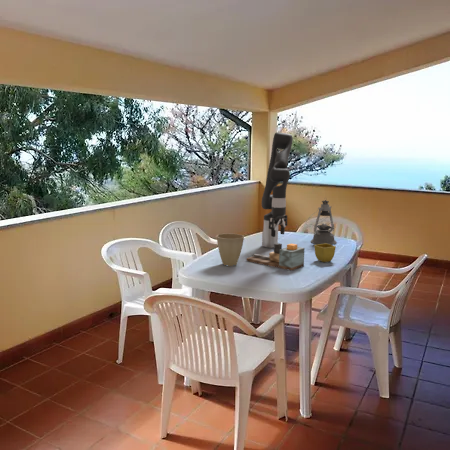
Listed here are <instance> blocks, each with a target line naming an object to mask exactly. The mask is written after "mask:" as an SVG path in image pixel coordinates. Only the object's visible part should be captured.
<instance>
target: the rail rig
mask: <svg viewBox="0 0 450 450" xmlns="http://www.w3.org/2000/svg"><path fill="white" fill-rule="evenodd" d="M246 262H250V263H254V262H255V263H256V264H259V265H263V264H264V266H268V265H269V267H272V268H278V269H282V270H287V271H295V270H298V269H300V268H302V267H304V266H305V247H301V246H297V249H296V250H289V249H287V246H286V247H284V248H283V247H282V249H280V251H279V262H276V261H271V260H270V258H269V255H265V254H258V253H253V256H250V257H246ZM255 263H254V264H255Z"/></svg>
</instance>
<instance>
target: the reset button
mask: <svg viewBox="0 0 450 450" xmlns="http://www.w3.org/2000/svg"><path fill="white" fill-rule="evenodd" d="M286 247H287V249H289V250H296V249H297V247H298V243H297V244H296V243H288V244H286Z"/></svg>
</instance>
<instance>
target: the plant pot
mask: <svg viewBox="0 0 450 450" xmlns="http://www.w3.org/2000/svg"><path fill="white" fill-rule="evenodd" d="M244 241H245V236H244V235H242V234H239V233H220V234H217V235H216V242H217V248H218V253H219V256H220V259H221V262H222V264H224V265H223V266H225V265H228V266H227V267H234V266H233V265H235V266H237V264H238V262H239V259H240V256H241V253H242V249H243V245H244Z"/></svg>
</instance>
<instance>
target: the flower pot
mask: <svg viewBox="0 0 450 450" xmlns="http://www.w3.org/2000/svg"><path fill="white" fill-rule="evenodd" d="M313 246H314V255H315V257H316V259H317V260H318V261H319V262H321V263H328V262H331V261H332V260H333V258H334V257H335V254H336V248H337V247H336V245H330V244H326V243H325V244H313Z"/></svg>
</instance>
